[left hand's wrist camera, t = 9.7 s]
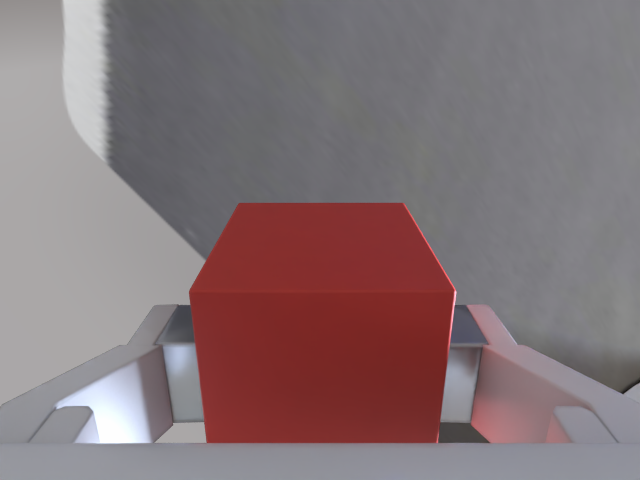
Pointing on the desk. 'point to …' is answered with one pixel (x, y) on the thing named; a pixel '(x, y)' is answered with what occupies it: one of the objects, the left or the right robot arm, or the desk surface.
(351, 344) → the brick
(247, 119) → the desk surface
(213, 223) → the desk surface
